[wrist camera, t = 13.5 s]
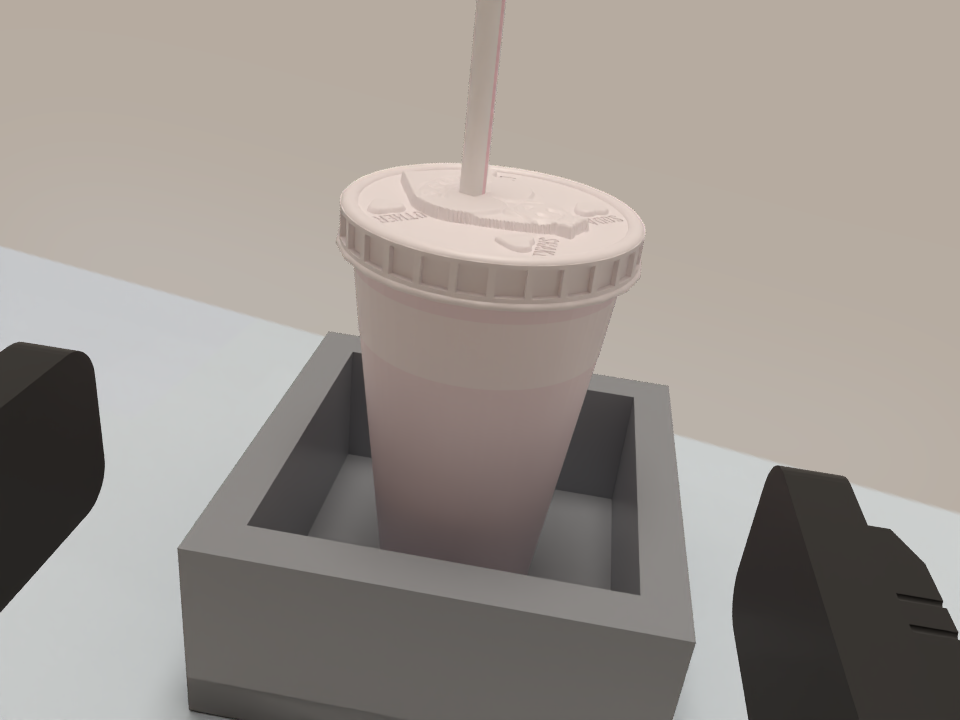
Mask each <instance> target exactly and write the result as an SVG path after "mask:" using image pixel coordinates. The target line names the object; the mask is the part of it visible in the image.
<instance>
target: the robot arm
mask: <svg viewBox="0 0 960 720" xmlns="http://www.w3.org/2000/svg"><path fill="white" fill-rule="evenodd" d="M104 470H105V460H104V451H103V442H102V433H101V424H100V415H99V407H98V398H97V389H96V380H95V373H94V368H93V364H92V362H91V360H90V358H89V357H88V356H87V355H86V354H85V353H83V352H80V351H75V350H69V349H62V348H56V347H50V346H44V345H38V344H31V343H25V342H17V343H14V344H12V345H10V346H8V347H7V348H5V349H4V350H3V351H1V352H0V612H1V611H2V610H3V609H4V608H5V607H6V606H7V604H8V603H9V602H10V601H11V600H12V599H13V598H14V597H15V595H16V594H17V593H18V592H19V591H20V590H21V589H22V588H23V586H24V585H25V584H26V583H27V582H28V581H29V580H30V579H31V577H32V576H33V575H34V574H35V573H36V572H37V571H38V570H39V568H40V567H41V566H42V565H43V564H44V563H45V562H46V561H47V559H48V558H49V557H50V556H51V555H52V554H53V553H54V552H55V550H56V549H57V548H58V547H59V546H60V545H61V544H62V543H63V541H64V540H65V539H66V538H67V537H68V536H69V535H70V534H71V532H72V531H73V530H74V529H75V528H76V527H77V526H78V525H79V523H80V522H81V521H82V520H83V519H84V518H85V517H86V516H87V514H88V513H89V512H90V511H91V509H92V507H93V506H94V504H95V502H96V500H97V498H98V495H99V493H100V490H101V487H102V483H103V478H104ZM942 603H943V600H942V598H941V596H940V594H939V591H938V589H937V587H936V585H935V583H934V581H933V579H932V577H931V575H930V573H929V571H928V569H927V567H926V565H925V563H924V562H923V561H922V560H921V559H920V558H919V557H918V556H917V555H916V554H915V553H914V552H913V551H912V550H911V549H910V548H909V547H908V546H907V545H906V544H905V543H904V542H903V541H902V540H901V539H900V538H899V537H898V536H897V535H896V534H895V533H894V532H893V531H892V530H891V529H886V528H880V527H874V526H868V525H867V523H866V520H865V518H864V515H863V513H862V511H861V508H860V506H859V504H858V501H857V499H856V496H855V494H854V492H853V489H852V487H851V484H850V483H849V481H848V479H847V478H846V477H844V476H840V475H834V474H828V473H822V472H815V471H809V470H803V469H797V468H791V467H784V466H774V467H773V468H772V469H771V471H770V473H769V474H768V477H767V479H766V482H765V484H764V488H763V491H762V494H761V497H760V501H759V504H758V507H757V510H756V513H755V517H754V520H753V523H752V526H751V530H750V533H749V536H748V539H747V543H746V546H745V549H744V552H743V556H742V559H741V562H740V565H739V568H738V572H737V576H736V581H735V586H734V594H733V607H732V619H733V630H734V636H735V642H736V648H737V654H738V660H739V666H740V672H741V678H742V684H743V690H744V696H745V702H746V708H747V714H748V719H749V720H960V640H958V631H957V629H956V627H955V625H954V623H953V620H952V618H951V616H950V614H949V612H948V610H947V609H946V608H943V607H942Z"/></svg>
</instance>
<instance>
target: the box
mask: <svg viewBox="0 0 960 720" xmlns="http://www.w3.org/2000/svg"><path fill="white" fill-rule="evenodd" d="M178 562H179V576H180V590H181V604H182V618H183V633H184V647H185V661H186V675H187V689H188V703H189V710H194V711H199V712H204V713H209V714H214V715H219V716H224V717H230V718H235V719H240V720H672V719H673V716H674V713H675V710H676V706H677V703H678V700H679V696H680V693H681V690H682V686H683V683H684V680H685V676H686V673H687V670H688V666H689V663H690V660H691V656H692V653H693V650H694V647H695V643H696V641H695V631H694V622H693V612H692V603H691V594H690V584H689V575H688V565H687V556H686V547H685V537H684V528H683V518H682V509H681V500H680V490H679V481H678V471H677V462H676V453H675V443H674V434H673V424H672V415H671V406H670V397H669V387H668V386H666V385H660V384H654V383H648V382H640V381H635V380H629V379H623V378H616V377H609V376H603V375H598V374H592V377H591V380H590V383H589V386H588V389H587V392H586V395H585V398H584V401H583V404H582V408H581V411H580V414H579V417H578V420H577V423H576V426H575V429H574V432H573V435H572V438H571V441H570V444H569V447H568V451H567V454H566V457H565V460H564V463H563V466H562V469H561V472H560V475H559V478H558V481H557V484H556V487H555V490H554V493H553V497H552V500H551V503H550V506H549V509H548V512H547V515H546V518H545V521H544V524H543V527H542V530H541V533H540V536H539V540H538V543H537V546H536V549H535V552H534V555H533V558H532V561H531V564H530V567H529V570H528V573H527V575H522V574H516V573H511V572H505V571H499V570H494V569H488V568H483V567H477V566H472V565H466V564H460V563H455V562H449V561H444V560H438V559H432V558H427V557H421V556H416V555H410V554H404V553H399V552H393V551H388V550H382V549H380V541H379V531H378V520H377V510H376V499H375V489H374V478H373V468H372V457H371V447H370V436H369V426H368V415H367V405H366V394H365V384H364V373H363V363H362V352H361V342H360V336H354V335H348V334H342V333H335V332H328V333H327V335H326V336H325V338H324V339H323V340H322V342H321V343H320V345H319V346H318V348H317V349H316V351H315V352H314V353H313V355H312V356H311V358H310V359H309V361H308V362H307V363H306V365H305V366H304V368H303V369H302V371H301V372H300V373H299V375H298V376H297V378H296V379H295V381H294V382H293V383H292V385H291V386H290V388H289V389H288V391H287V392H286V393H285V395H284V396H283V398H282V399H281V401H280V402H279V404H278V405H277V406H276V408H275V409H274V411H273V412H272V414H271V415H270V416H269V418H268V419H267V421H266V422H265V424H264V425H263V426H262V428H261V429H260V431H259V432H258V434H257V435H256V436H255V438H254V439H253V441H252V442H251V444H250V445H249V447H248V448H247V449H246V451H245V452H244V454H243V455H242V457H241V458H240V459H239V461H238V462H237V464H236V465H235V467H234V468H233V469H232V471H231V472H230V474H229V475H228V477H227V478H226V479H225V481H224V482H223V484H222V485H221V487H220V488H219V490H218V491H217V492H216V494H215V495H214V497H213V498H212V500H211V501H210V502H209V504H208V505H207V507H206V508H205V510H204V511H203V512H202V514H201V515H200V517H199V518H198V520H197V521H196V522H195V524H194V525H193V527H192V528H191V530H190V531H189V532H188V534H187V535H186V537H185V538H184V540H183V541H182V543H181V544H180V545H179V547H178Z"/></svg>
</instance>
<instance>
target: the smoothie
mask: <svg viewBox="0 0 960 720" xmlns="http://www.w3.org/2000/svg"><path fill="white" fill-rule="evenodd" d="M505 5H506V0H477V1H476V12H475V24H474V34H473V47H472V56H471V68H470V79H469V90H468V101H467V113H466V123H465V134H464V145H463V156H462V163H428V164H414V165H405V166H397V167H393V168H388V169H383V170H379V171H376V172H373V173H370V174H367V175H364V176H362V177H360V178H359V179H357V180H355V181H354V182H352V183H350V184H349V185H348V186H347V187H346V188H345V189H344V191H343V192H342V194H341V197H340V226H339V230H338V234H337V239H336V244H337V246H338V248H339V250H340V252H341V253H342V255H343V257H344V259H345V260H346V261H347V262H349V263H350V264H351V265H353V266H354V275H355V287H356V301H357V314H358V327H359V332H360V342H361V352H362V363H363V373H364V384H365V394H366V405H367V415H368V426H369V436H370V447H371V457H372V468H373V478H374V489H375V499H376V510H377V520H378V531H379V541H380V549H382V550H388V551H393V552H399V553H404V554H410V555H416V556H421V557H427V558H432V559H438V560H444V561H449V562H455V563H460V564H466V565H472V566H477V567H483V568H488V569H494V570H499V571H505V572H511V573H516V574H522V575H527V573H528V570H529V567H530V564H531V561H532V558H533V555H534V552H535V549H536V546H537V543H538V540H539V536H540V533H541V530H542V527H543V524H544V521H545V518H546V515H547V512H548V509H549V506H550V503H551V500H552V497H553V493H554V490H555V487H556V484H557V481H558V478H559V475H560V472H561V469H562V466H563V463H564V460H565V457H566V454H567V451H568V447H569V444H570V441H571V438H572V435H573V432H574V429H575V426H576V423H577V420H578V417H579V414H580V411H581V408H582V404H583V401H584V398H585V395H586V392H587V389H588V386H589V383H590V380H591V377H592V374H593V371H594V368H595V365H596V361H597V359H598V357H599V354H600V351H601V348H602V344H603V341H604V338H605V335H606V331H607V328H608V325H609V321H610V318H611V315H612V312H613V308H614V305H615V302H616V298H617V296H619V295H622V294H624V293H626V292H627V291H628V290H629V289H630V288H631V287H632V286H633V285H634V284H635V283H636V282H637V281H638V280H639V279H640V276H641V263H642V262H641V260H640V258H641V253H642V248H643V243H644V238H645V233H646V230H645V225H644V223H643V221H642V220H641V218H640V217H639V216H638V215H637V214H636V212H635V211H634V210H633V209H631V208H630V207H629V206H628V205H626V204H625V203H624V202H622V201H621V200H619V199H617V198H615V197H613V196H611V195H609V194H608V193H606V192H603V191H601V190H598V189H596V188H593V187H591V186H588V185H586V184H582V183H579V182H576V181H573V180H569V179H566V178H562V177H558V176H554V175H550V174H546V173H541V172H536V171H530V170H525V169H519V168H512V167H504V166H496V165H489V158H490V148H491V138H492V129H493V120H494V110H495V101H496V91H497V82H498V72H499V63H500V53H501V44H502V34H503V25H504V15H505Z"/></svg>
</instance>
